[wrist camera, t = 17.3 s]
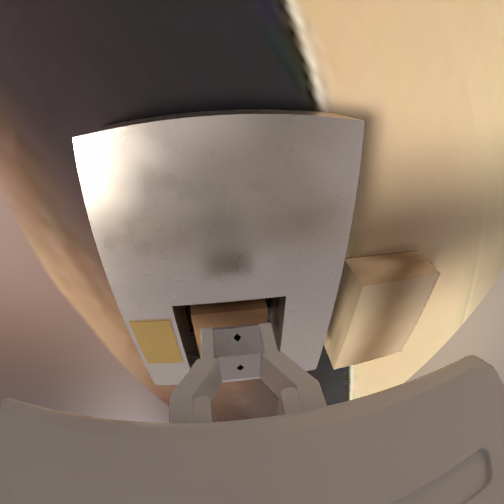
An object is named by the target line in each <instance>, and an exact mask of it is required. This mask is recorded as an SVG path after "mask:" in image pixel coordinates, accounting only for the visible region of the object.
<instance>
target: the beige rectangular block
mask: <svg viewBox="0 0 504 504" xmlns="http://www.w3.org/2000/svg"><path fill="white" fill-rule="evenodd" d="M439 274H440V272H439V271H438V270H437V269H436V268H435V267H434V266H433V265H432V264H431V263H430V262H429V261H428V260H427V259H426V258H425V257H424V256H423V255H422V254H421V253H420V252H419V251H412V252H403V253H394V254H385V255H376V256H366V257H356V258H347V259H345V261H344V265H343V270H342V275H341V279H340V283H339V288H338V292H337V296H336V300H335V304H334V308H333V312H332V316H331V319H330V323H329V327H328V330H327V334H326V337H325V341H324V346H325V349H326V351H327V354H328V356H329V359H330V361H331V364H332V366H333V369H338V368H342V367H346V366H350V365H355V364H358V363H362V362H366V361H370V360H373V359H377V358H381V357H384V356H387V355H391V354H394V353H397V352H400V351H402V349H403V347H404V346H405V344H406V342H407V340H408V338H409V337H410V335H411V333H412V331H413V329H414V327H415V325H416V324H417V322H418V320H419V318H420V316H421V314H422V312H423V310H424V308H425V306H426V303H427V301H428V299H429V297H430V295H431V293H432V290H433V288H434V286H435V284H436V281H437V279H438V277H439Z"/></svg>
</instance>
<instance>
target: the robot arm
mask: <svg viewBox="0 0 504 504" xmlns="http://www.w3.org/2000/svg"><path fill="white" fill-rule="evenodd" d="M255 377H260V378H261V379H262V380H263V382H264V383H265V384H266V385H267V386H268V387H269V388H270V389H271V390H272V391H273V392H274V393H275V394H276V395H277V396H278V398H279V403H278V407H277V412H276V416H271V417H264V418H256V419H247V420H237V421H224V422H217V421H216V418H215V414H214V410H213V407H212V403H211V400H212V399H213V397H214V395H215V393H216V391H217V390H218V388H219V386H220V384H221V382H222V381H223V380H233V379H242V378H255ZM0 504H504V384H503V382H502V381H501V378H500V377H499V375H498V373H497V372H496V370H495V369H494V367H493V366H492V365H490V364H489V363H487V362H486V361H484V360H482V359H480V358H479V357H476V356H474V355H468V356H466V357H464V358H462V359H460V360H458V361H456V362H454V363H451V364H449V365H447V366H445V367H443V368H441V369H438V370H436V371H434V372H431V373H429V374H427V375H424V376H422V377H419V378H417V379H414V380H412V381H409V382H406V383H404V384H401V385H398V386H395V387H392V388H389V389H386V390H383V391H380V392H377V393H374V394H371V395H368V396H364V397H361V398H357V399H354V400H350V401H346V402H342V403H338V404H334V405H330V406H327V405H326V402H325V399H324V396H323V393H322V390H321V387H320V384H319V382H318V381H317V380H316V379H315V378H313V377H312V376H311V375H310V374H308V373H307V372H306V371H305V370H304V369H302V368H301V367H300V366H299V365H297V364H296V363H295V362H294V361H293V360H291V359H290V358H289V357H288V356H287V355H285V354H284V353H283V352H282V351H279V352H278V349H277V345H276V341H275V337H274V333H273V329H272V326H271V323H261V324H250V325H240V326H232V327H213V328H201V359H197V360H196V362H195V363H194V364H193V366H192V367H191V369H190V370H189V371H188V373H187V374H186V375H185V377H184V378H183V379H182V381H181V382H180V383H179V385H178V386H177V387H176V389H175V390H174V391H173V393H172V394H171V395H170V402H169V423H151V422H135V421H123V420H112V419H104V418H97V417H90V416H83V415H77V414H72V413H67V412H62V411H57V410H52V409H48V408H44V407H40V406H36V405H32V404H29V403H25V402H22V401H18V400H15V399H11V398H8V399H5V400H4V401H2V402H1V403H0Z"/></svg>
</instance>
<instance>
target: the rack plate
mask: <svg viewBox="0 0 504 504" xmlns="http://www.w3.org/2000/svg"><path fill="white" fill-rule="evenodd" d="M364 126H365V121H364V120H360V119H356V118H353V117H349V116H345V115H340V114H336V113H331V112H320V111H305V110H282V109H239V110H216V111H201V112H190V113H180V114H171V115H163V116H156V117H149V118H142V119H136V120H131V121H125V122H120V123H115V124H110V125H105V126H101V127H99V128H96V129H93V130H91V131H88V132H86V133H83V134H81V135H79V136H76V137H74V138H73V145H74V152H75V158H76V163H77V169H78V174H79V179H80V184H81V188H82V193H83V197H84V201H85V205H86V209H87V213H88V217H89V221H90V225H91V228H92V232H93V235H94V239H95V242H96V245H97V248H98V252H99V255H100V258H101V261H102V264H103V267H104V270H105V273H106V275H107V278H108V281H109V284H110V286H111V289H112V292H113V294H114V297H115V299H116V302H117V304H118V307H119V309H120V312H121V314H122V317H123V319H124V321H125V324H126V326H127V328H128V330H129V333H130V335H131V337H132V339H133V341H134V343H135V346H136V348H137V350H138V352H139V354H140V356H141V358H142V360H143V362H144V364H145V366H146V368H147V370H148V372H149V374H150V376H151V377H152V379H153V381H154V383H155V385H179V383H180V382H181V381H182V379H183V378H184V377H185V375H186V374H187V373H188V371H189V370H190V369H191V367H192V366H193V364H194V363H195V362H196V360H197V359H201V357H200V353H199V349H198V345H197V341H196V337H195V333H194V331H190V327H189V323H188V319H187V314H186V310H185V305H196V304H209V303H221V302H233V301H243V300H254V299H263V298H271V307H270V323H271V326H272V329H273V333H274V337H275V341H276V345H277V349H278V352H279V351H282V352H283V353H284V354H285V355H287V356H288V357H289V358H290V359H291V360H293V361H294V362H295V363H296V364H297V365H299V366H300V367H301V368H302V369H304V370H305V371H309V370H314V369H316V367H317V364H318V361H319V358H320V354H321V351H322V348H323V344H324V341H325V337H326V334H327V330H328V327H329V323H330V319H331V316H332V312H333V308H334V304H335V300H336V296H337V292H338V288H339V283H340V279H341V275H342V270H343V265H344V261H345V256H346V251H347V246H348V241H349V236H350V230H351V225H352V219H353V213H354V207H355V201H356V194H357V188H358V180H359V173H360V165H361V156H362V147H363V137H364ZM258 378H260V377H255V378H242V379H233V380H223V381H222V382H230V381H240V380H249V379H258Z"/></svg>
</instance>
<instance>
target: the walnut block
mask: <svg viewBox="0 0 504 504" xmlns="http://www.w3.org/2000/svg"><path fill="white" fill-rule="evenodd" d="M267 312H268V307H267V304H266V300H265V298H263V299H254V300H243V301H233V302H221V303H209V304H196V305H191V319H192V324H193V328H194V333H195V337H196V341H197V345H198V349H199V353H200V357H201V328H213V327H232V326H240V325H250V324H261V323H267Z"/></svg>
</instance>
